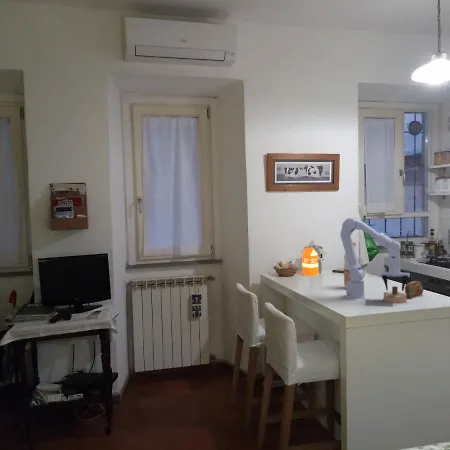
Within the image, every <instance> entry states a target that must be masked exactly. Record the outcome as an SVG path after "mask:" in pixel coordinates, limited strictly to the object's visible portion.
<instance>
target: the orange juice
mask: <svg viewBox="0 0 450 450" xmlns="http://www.w3.org/2000/svg"><path fill="white" fill-rule="evenodd" d="M301 258H302V260H301V261H302V263H301V264H302V275H303V274H304V276H309V277H312V276H318V275H319V255H318V253H317V251H316V250H315V248H314V247H305V248H304V251H303V252H302V256H301Z"/></svg>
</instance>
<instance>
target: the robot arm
mask: <svg viewBox="0 0 450 450" xmlns="http://www.w3.org/2000/svg"><path fill="white" fill-rule="evenodd" d="M341 225H342V226H341V230H340V234H339V235H340V238H341V241H342V246H343V249H344V252H345V253H346V256H347V259H348V263H349V272H350V274H349V278H350V279H351V280H350V281H347V289H346V292H345V294H346V299H360V300H361V299H365V300H366V294H365V280H364V277H365V276H366V273H365V271H364V269H363V268H362V265H361V264H360V262H359V263H358V259H357V256H356V253H355V249H354V246H353V243H354V242H353V240H352V234H353V232H354V231H355V230H356V231H357V230H360V231H362V232H365V233H366V234H368V235H369V236H371V237H373V238H374V241H375V243H377V244H378V245H379V246H382V247H383V248H384V249H386V250H387V251H388V271H385V272H384V271H382V272H379V277H381V278H382V281H383V283H384V285H385V290H386V291H389V290H388V289H389V288H388V277H394V278H395V277H397V278H401V284H402V285H401V291H402V292H405V286H406V284H407V281H408V279H409V278H410V277H411V273H410V272H401V248H402V245H401V243H400V242H399V241H397V240H395V239H394V238H391V237H390V236H388V235H387V233H385V232H384V233H383V232H378V231H376V230H375V229H373V228H372V227H371V226H369V225H368V224H367V223H365V222H364V221H362V220H360V219H358V218H357V217H351V218H350V217H349V218H346V219H345V220H344V221H343V222H342V224H341ZM352 242H353V243H352Z"/></svg>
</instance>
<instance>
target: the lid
mask: <svg viewBox="0 0 450 450" xmlns="http://www.w3.org/2000/svg"><path fill="white" fill-rule="evenodd" d="M384 296H387V297H394V298H401V297H406V293H405V292H404V291H402V292H401V291H398V286H392V287H391V291H385V292H383V297H384Z"/></svg>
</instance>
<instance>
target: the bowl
mask: <svg viewBox="0 0 450 450" xmlns="http://www.w3.org/2000/svg"><path fill="white" fill-rule="evenodd" d="M383 300H385V301H388V302H392V303H393V304H394V303H395V304H396V303H406V302H407V301H408V300H407V296H406V297H401V298H394V297H387V296H384V295H383Z"/></svg>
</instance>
